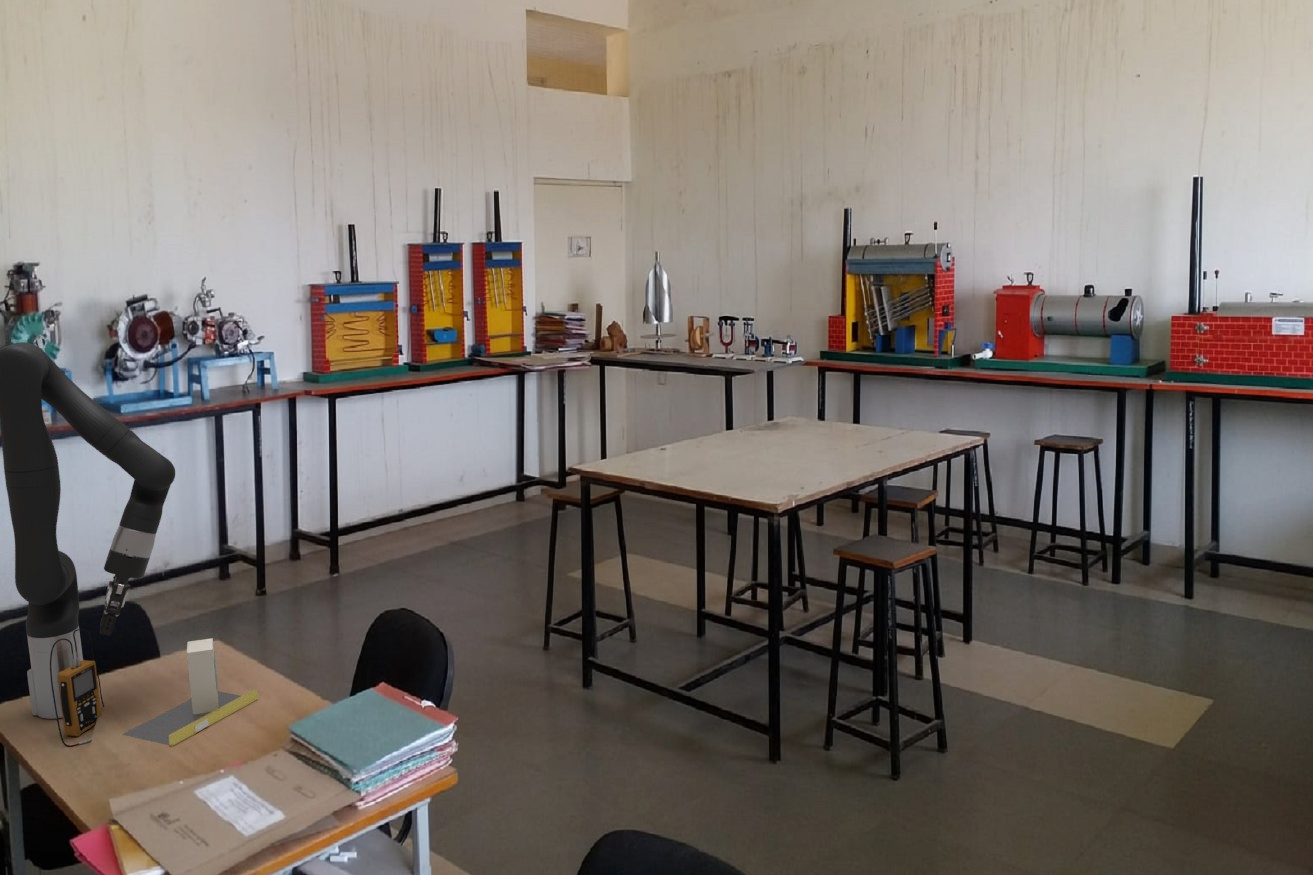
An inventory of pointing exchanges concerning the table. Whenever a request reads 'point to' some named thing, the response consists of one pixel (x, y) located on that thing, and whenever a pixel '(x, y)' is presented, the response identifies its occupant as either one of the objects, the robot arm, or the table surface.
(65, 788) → the table surface
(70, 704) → the multimeter
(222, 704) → the shelf
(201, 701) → the carton
